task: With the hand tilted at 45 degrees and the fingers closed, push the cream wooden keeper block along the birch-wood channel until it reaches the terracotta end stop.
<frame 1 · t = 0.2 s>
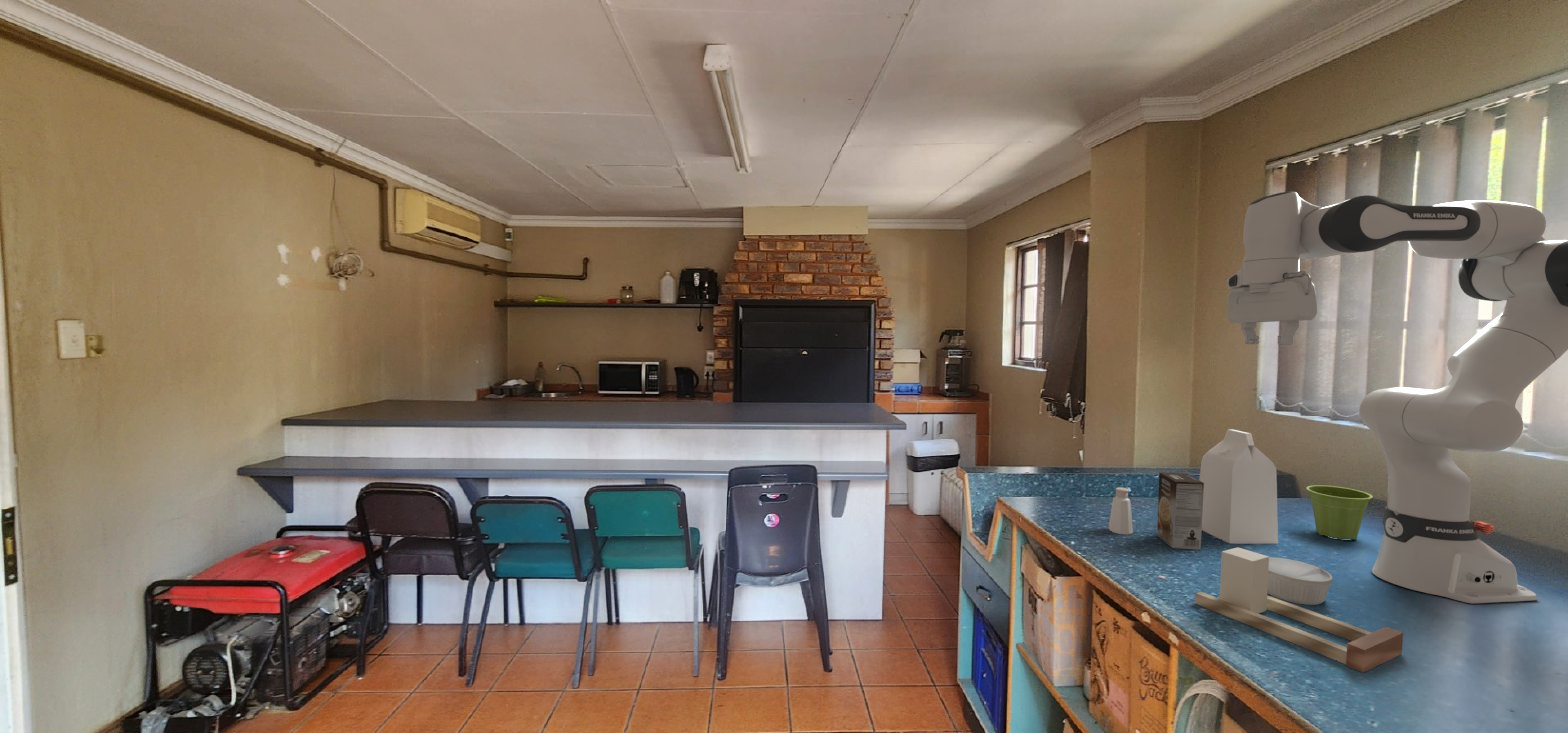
hand: (1267, 344, 117), 48 cm above the counter, tool pointing down, fingers open, 8 cm apart
plant pot: (1336, 537, 143), on the counter
keeper track: (1288, 627, 100), on the counter
pepper shaker: (1120, 532, 147), on the counter
coffee box: (1178, 543, 140), on the counter
milk: (1234, 535, 145), on the counter
keeper block: (1243, 580, 106), point 5 cm above the counter, slide at 0.0 cm
ramekin: (1291, 595, 112), on the counter
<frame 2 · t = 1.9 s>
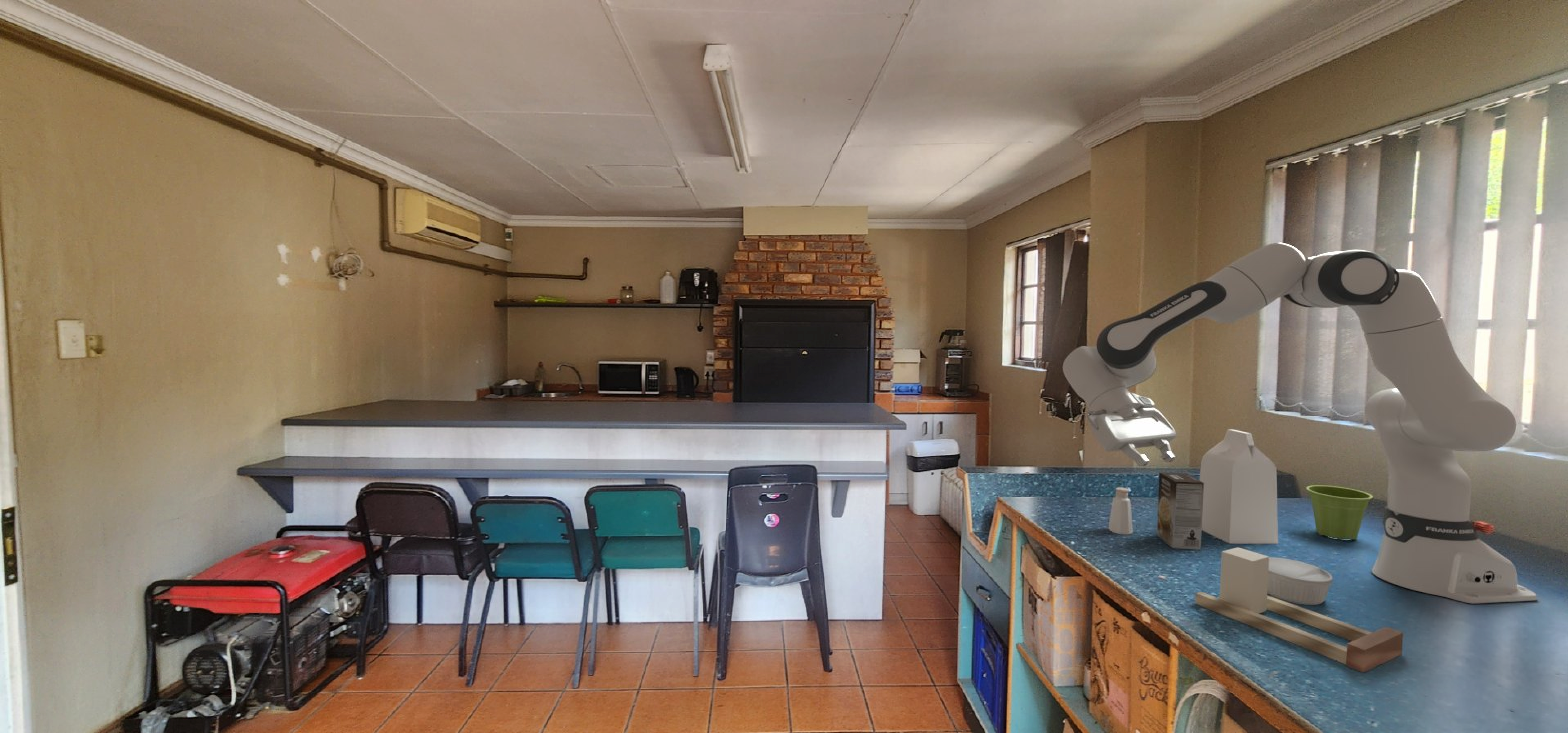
hand: (1158, 462, 119), 24 cm above the counter, tool tilted 45°, fingers open, 7 cm apart
nothing on the counter moved.
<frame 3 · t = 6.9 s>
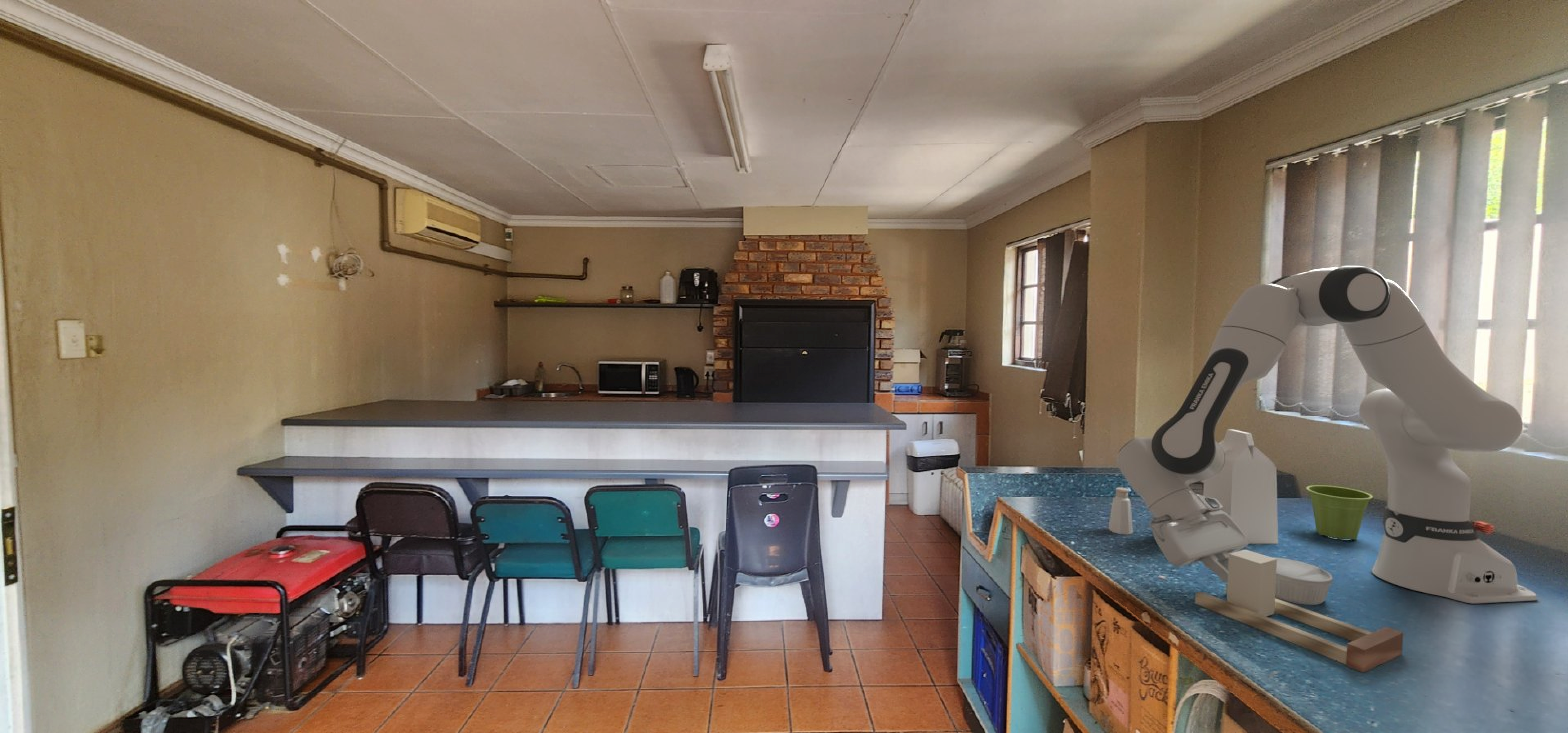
hand: (1232, 579, 108), 5 cm above the counter, tool tilted 45°, fingers closed, pressing on keeper block
keeper block: (1251, 583, 105), point 5 cm above the counter, slide at 1.2 cm, touching gripper
everything else where it was.
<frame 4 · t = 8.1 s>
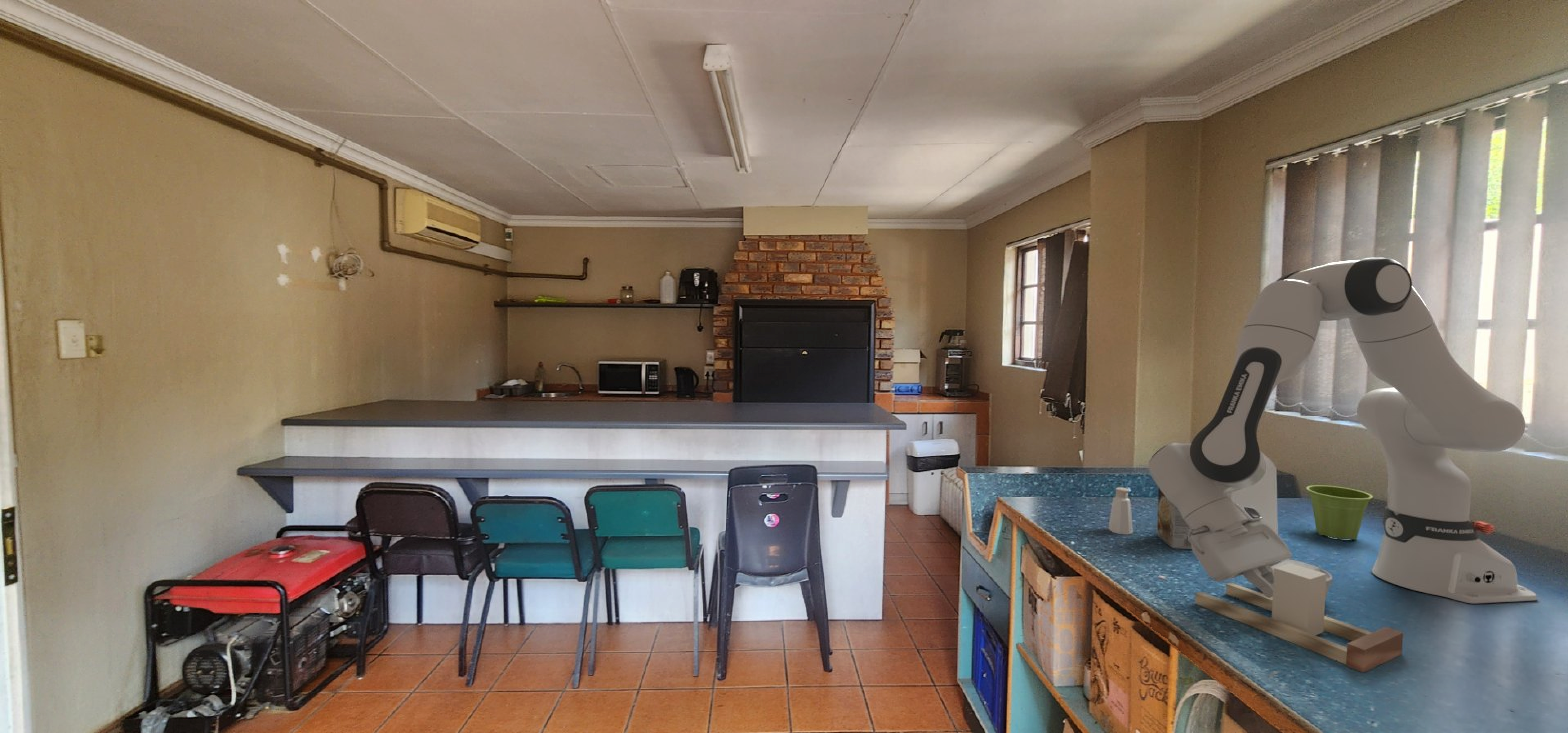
hand: (1276, 595, 101), 5 cm above the counter, tool tilted 45°, fingers closed, pressing on keeper block
keeper block: (1298, 599, 98), point 5 cm above the counter, slide at 8.2 cm, touching gripper
everything else where it was.
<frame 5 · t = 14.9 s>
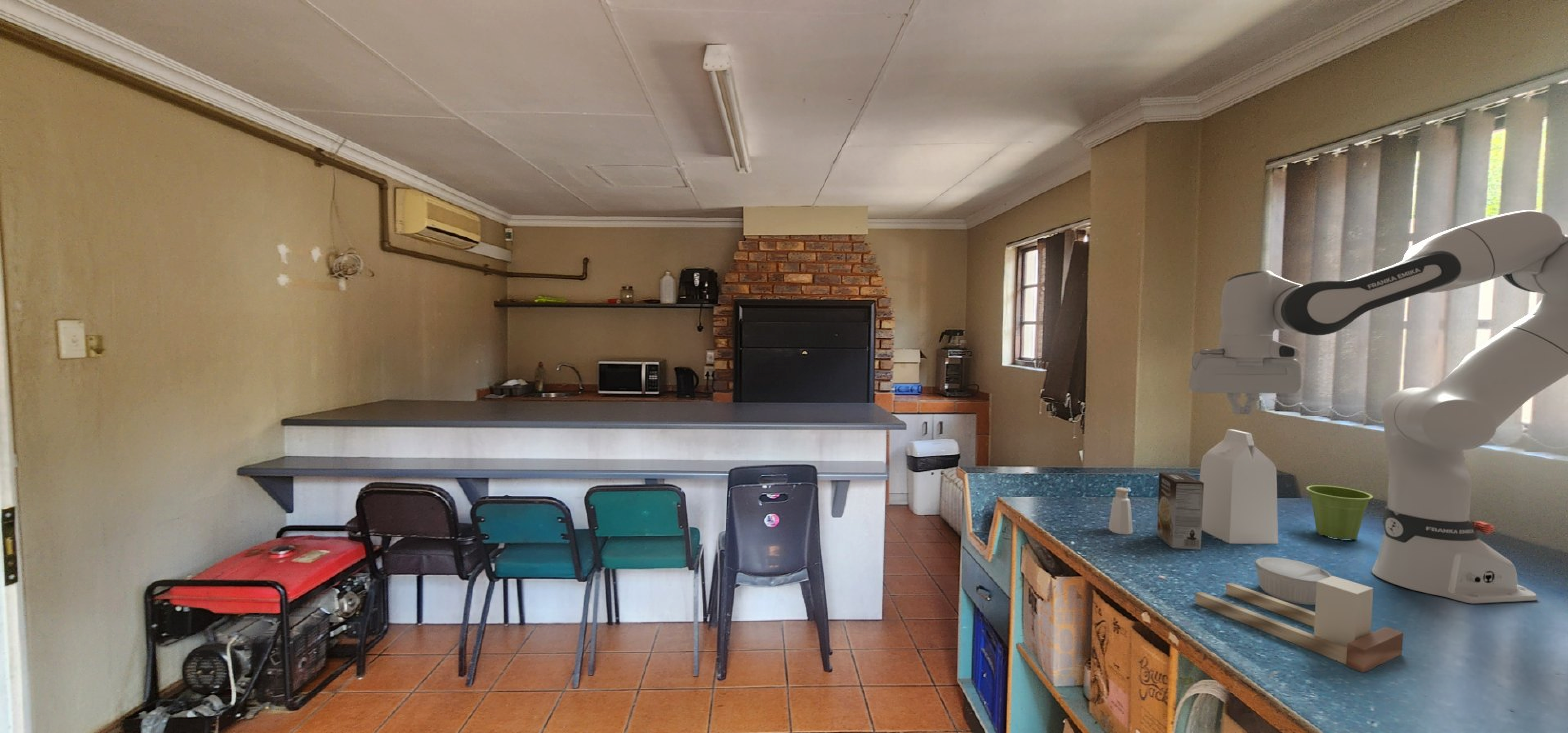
hand: (1242, 414, 123), 33 cm above the counter, tool pointing down, fingers closed
keeper block: (1342, 615, 93), point 5 cm above the counter, slide at 14.0 cm
everything else where it was.
at the end: keeper block slide at 14.0 cm; the gripper is holding nothing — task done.
